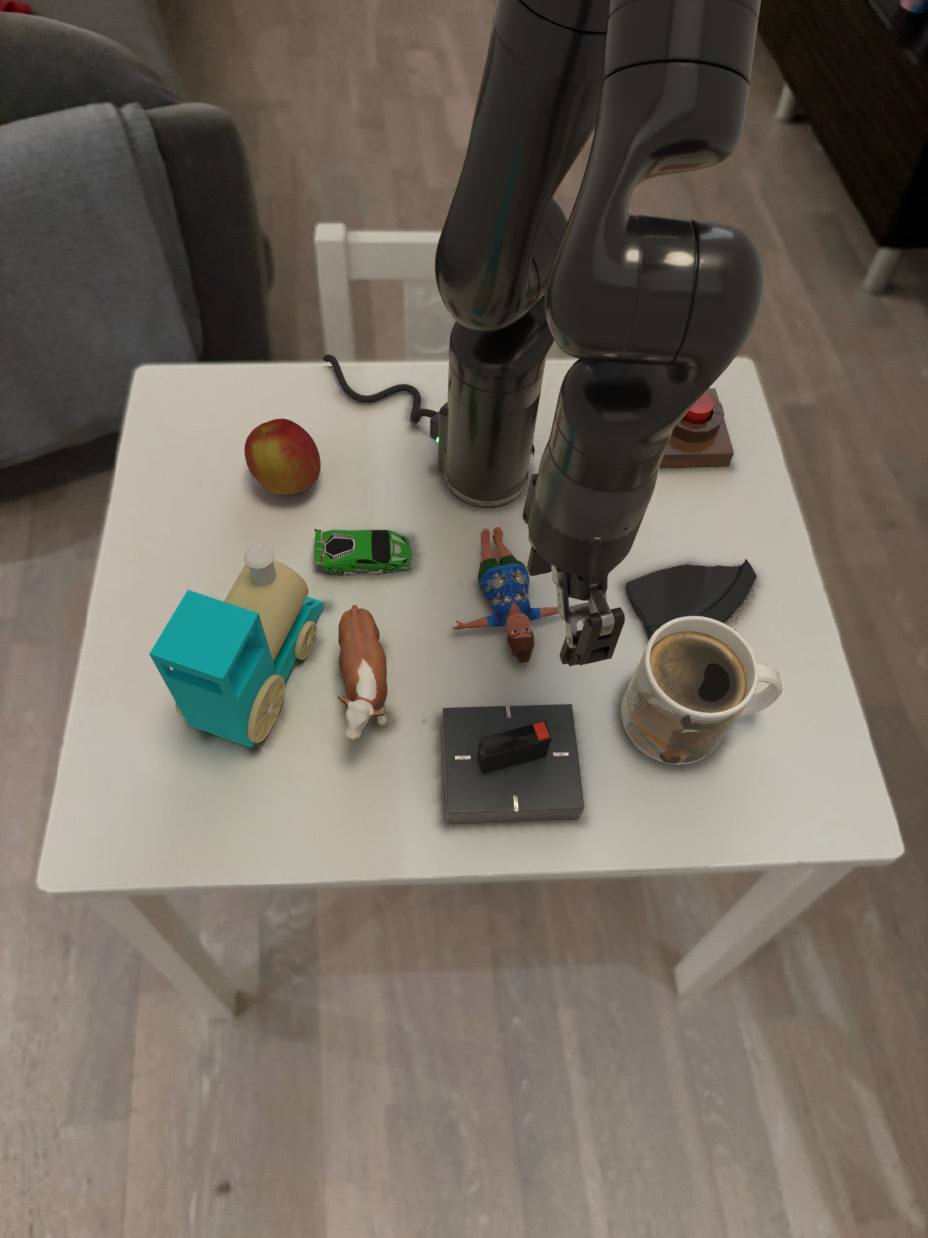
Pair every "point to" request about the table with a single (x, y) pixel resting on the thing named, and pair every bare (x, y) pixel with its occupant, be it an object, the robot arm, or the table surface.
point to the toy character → (507, 596)
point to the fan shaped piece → (690, 592)
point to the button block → (700, 441)
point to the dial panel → (515, 789)
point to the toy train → (238, 649)
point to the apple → (282, 457)
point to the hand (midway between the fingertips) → (555, 613)
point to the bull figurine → (362, 670)
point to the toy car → (361, 551)
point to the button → (700, 410)
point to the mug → (693, 689)
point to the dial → (514, 747)
